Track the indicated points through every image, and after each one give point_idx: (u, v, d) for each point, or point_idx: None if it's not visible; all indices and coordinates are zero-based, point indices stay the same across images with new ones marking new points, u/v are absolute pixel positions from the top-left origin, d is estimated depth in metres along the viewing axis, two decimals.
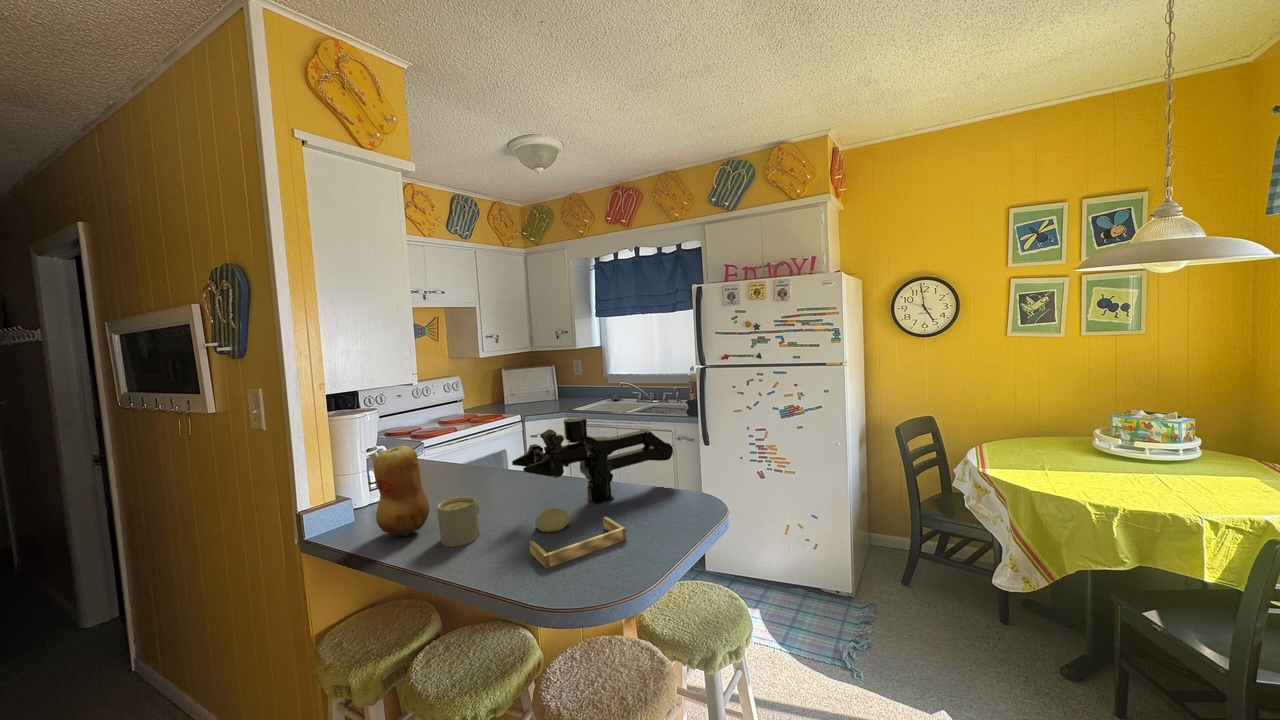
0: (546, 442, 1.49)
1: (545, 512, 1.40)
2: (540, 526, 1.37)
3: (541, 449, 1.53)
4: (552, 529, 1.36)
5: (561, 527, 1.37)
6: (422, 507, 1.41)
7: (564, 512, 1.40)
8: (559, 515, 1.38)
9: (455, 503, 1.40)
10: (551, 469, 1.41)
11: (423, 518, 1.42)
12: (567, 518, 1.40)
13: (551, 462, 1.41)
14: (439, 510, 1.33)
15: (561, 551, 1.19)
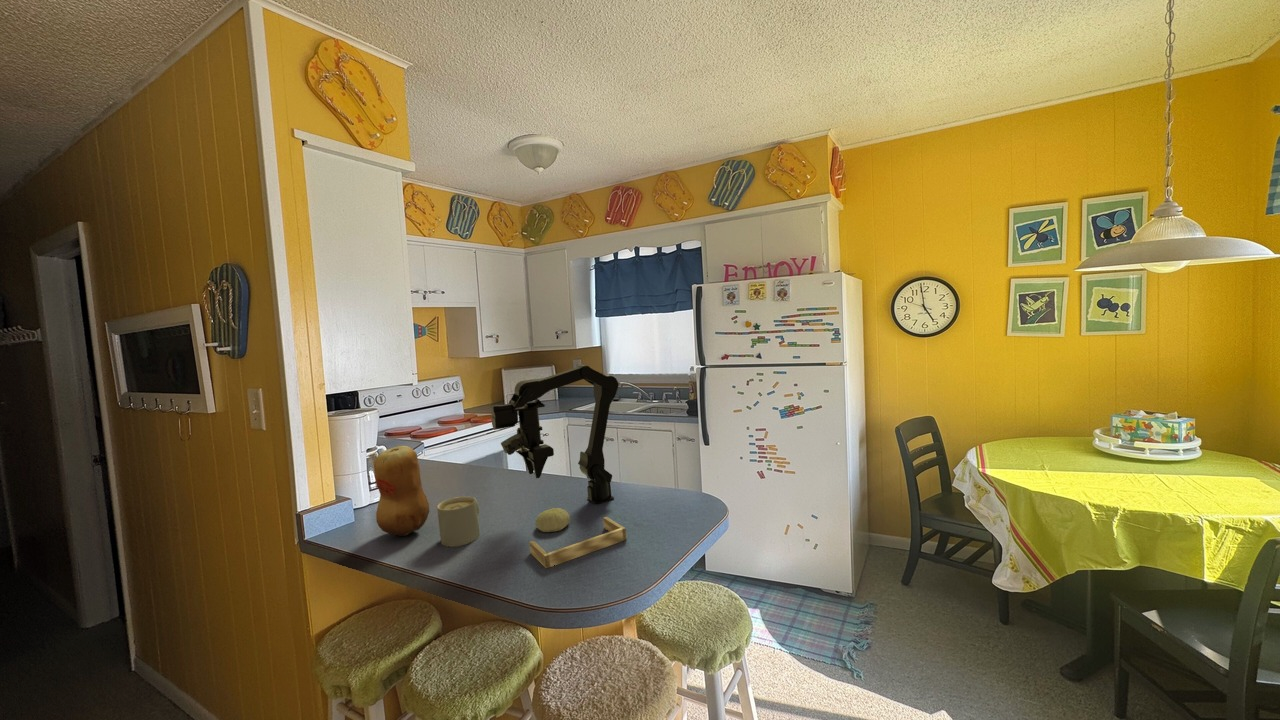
0: None
1: (545, 512, 1.40)
2: (540, 526, 1.37)
3: None
4: (552, 529, 1.36)
5: (561, 527, 1.37)
6: (422, 507, 1.41)
7: (564, 512, 1.40)
8: (559, 515, 1.38)
9: (455, 503, 1.40)
10: None
11: (423, 518, 1.42)
12: (567, 518, 1.40)
13: None
14: (439, 510, 1.33)
15: (561, 551, 1.19)
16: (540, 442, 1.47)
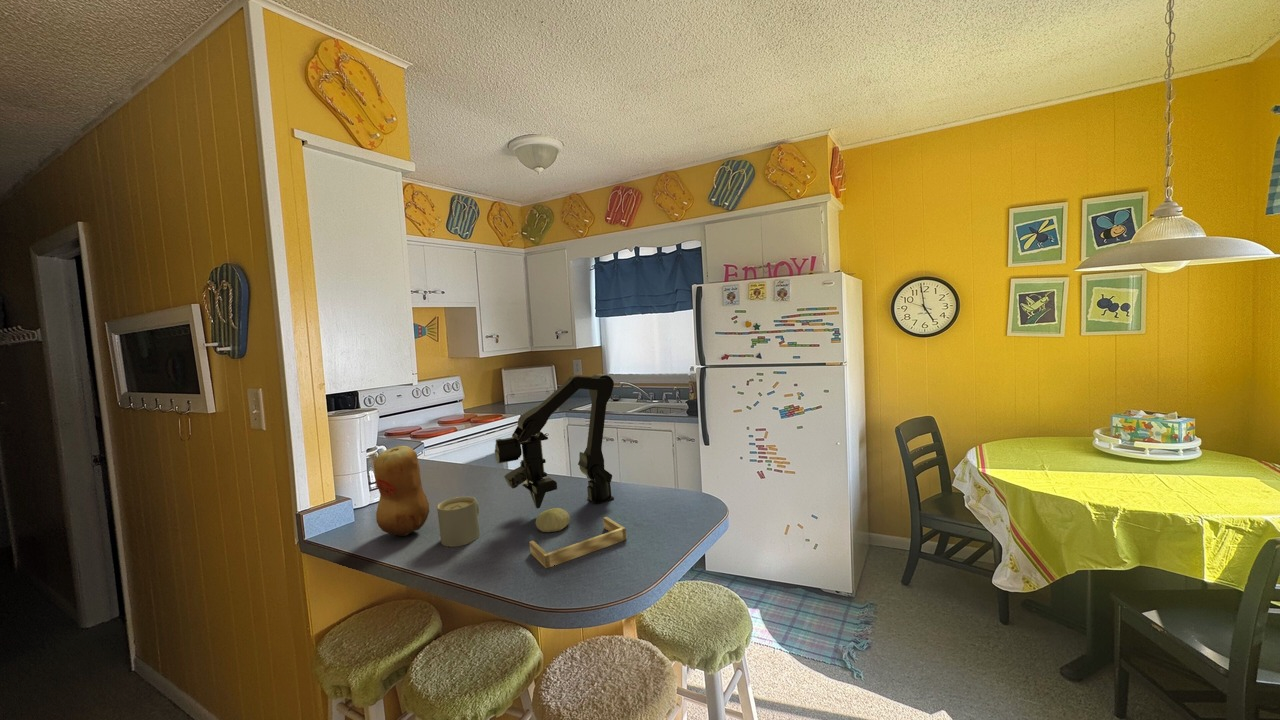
0: None
1: (545, 512, 1.40)
2: (540, 526, 1.37)
3: None
4: (552, 529, 1.36)
5: (561, 527, 1.37)
6: (422, 507, 1.41)
7: (564, 512, 1.40)
8: (559, 515, 1.38)
9: (455, 503, 1.40)
10: None
11: (423, 518, 1.42)
12: (567, 518, 1.40)
13: None
14: (439, 510, 1.33)
15: (561, 551, 1.19)
16: (543, 475, 1.48)
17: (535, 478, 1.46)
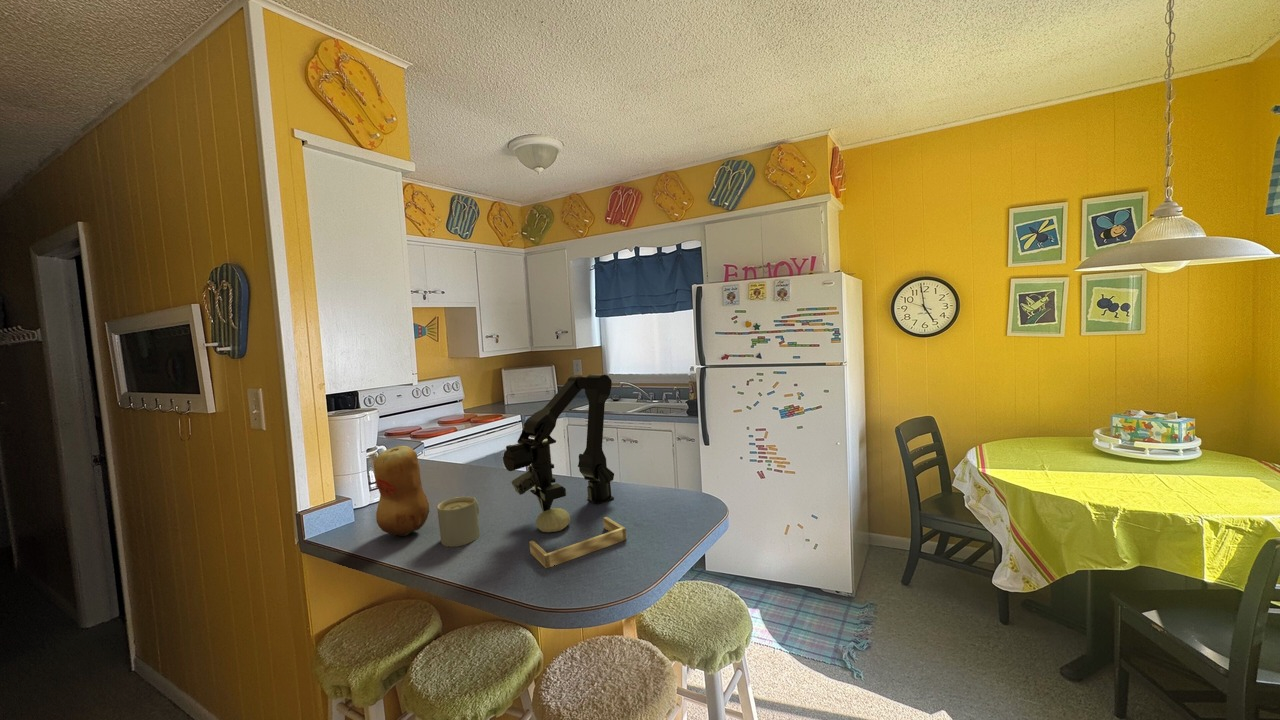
0: None
1: (545, 512, 1.39)
2: (541, 527, 1.36)
3: None
4: (553, 529, 1.36)
5: (562, 527, 1.37)
6: (422, 507, 1.41)
7: (564, 512, 1.40)
8: (559, 515, 1.38)
9: (455, 503, 1.40)
10: None
11: (423, 518, 1.42)
12: (567, 518, 1.39)
13: None
14: (439, 510, 1.33)
15: (561, 551, 1.19)
16: (552, 480, 1.42)
17: (543, 484, 1.41)
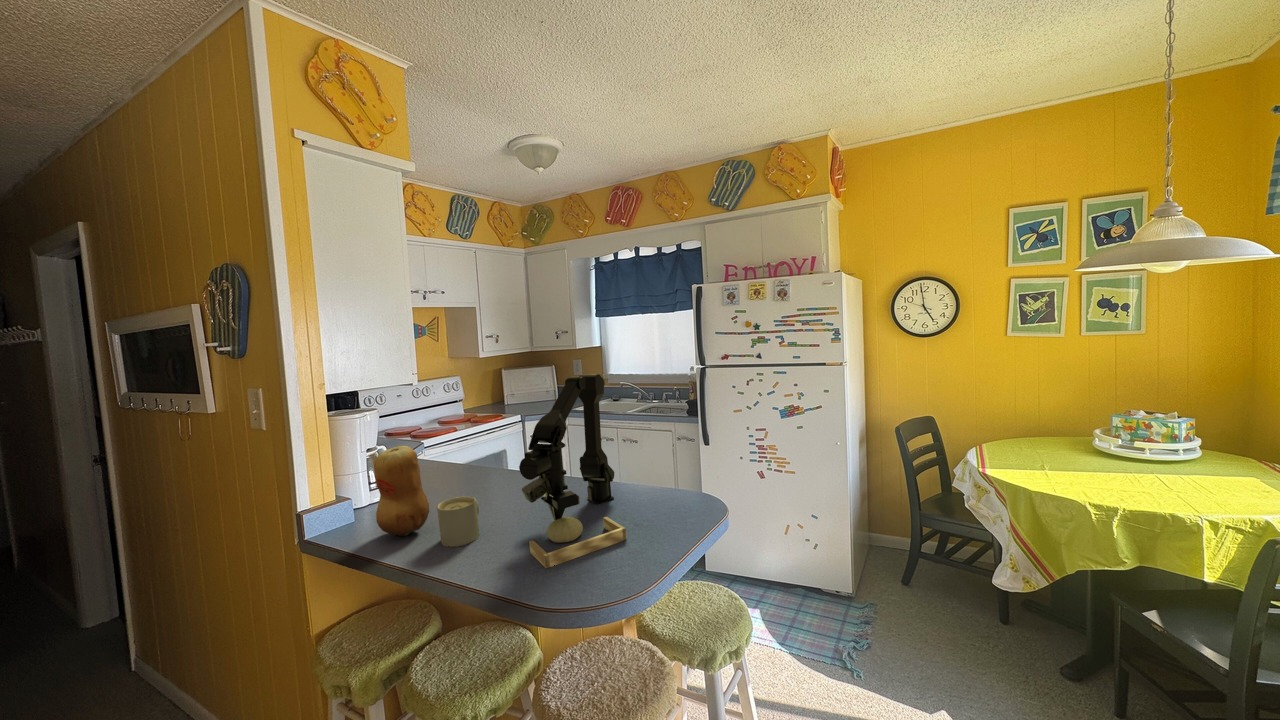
0: None
1: (557, 521, 1.32)
2: (551, 537, 1.29)
3: None
4: (564, 540, 1.29)
5: (573, 537, 1.30)
6: (422, 507, 1.41)
7: (577, 521, 1.33)
8: (571, 525, 1.31)
9: (455, 503, 1.40)
10: None
11: (423, 518, 1.42)
12: (580, 528, 1.32)
13: None
14: (439, 510, 1.33)
15: (561, 551, 1.19)
16: (564, 487, 1.36)
17: (555, 491, 1.34)
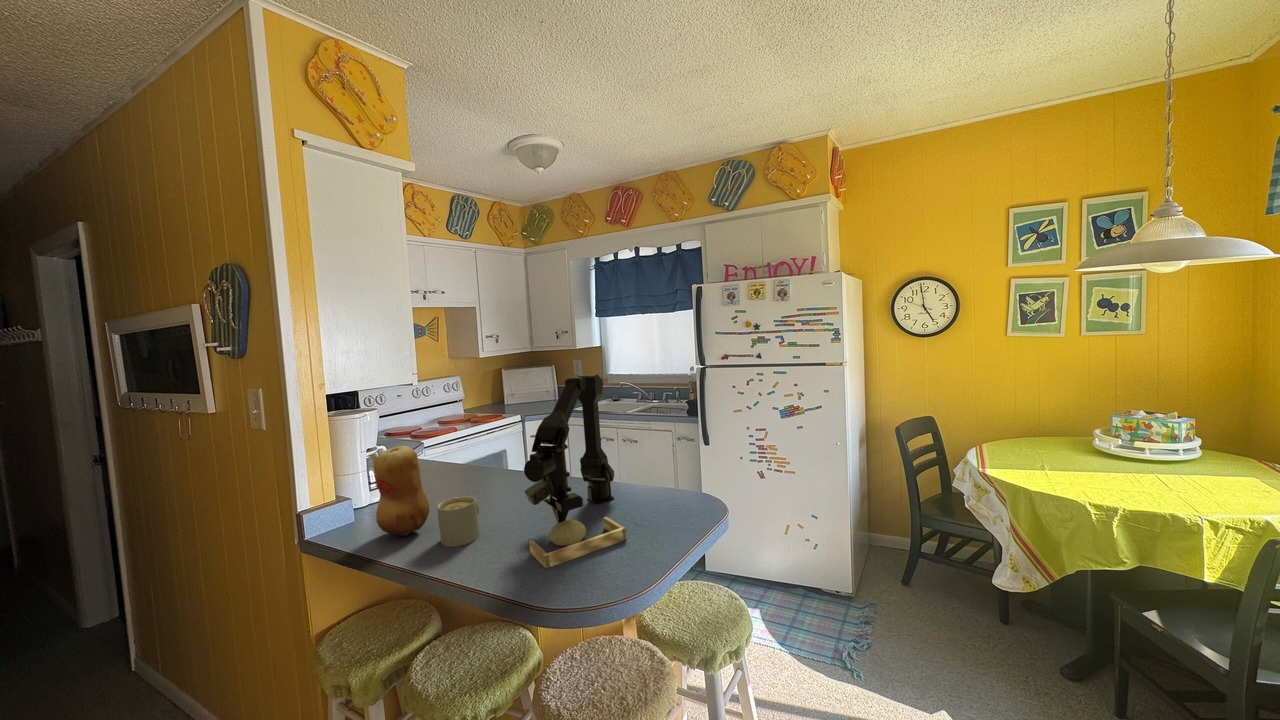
0: None
1: (560, 524, 1.31)
2: (554, 540, 1.28)
3: None
4: (567, 543, 1.27)
5: (576, 541, 1.28)
6: (422, 507, 1.41)
7: (580, 524, 1.31)
8: (574, 528, 1.29)
9: (455, 503, 1.40)
10: None
11: (423, 518, 1.42)
12: (583, 531, 1.30)
13: None
14: (439, 510, 1.33)
15: (561, 551, 1.19)
16: (567, 489, 1.34)
17: (558, 493, 1.32)
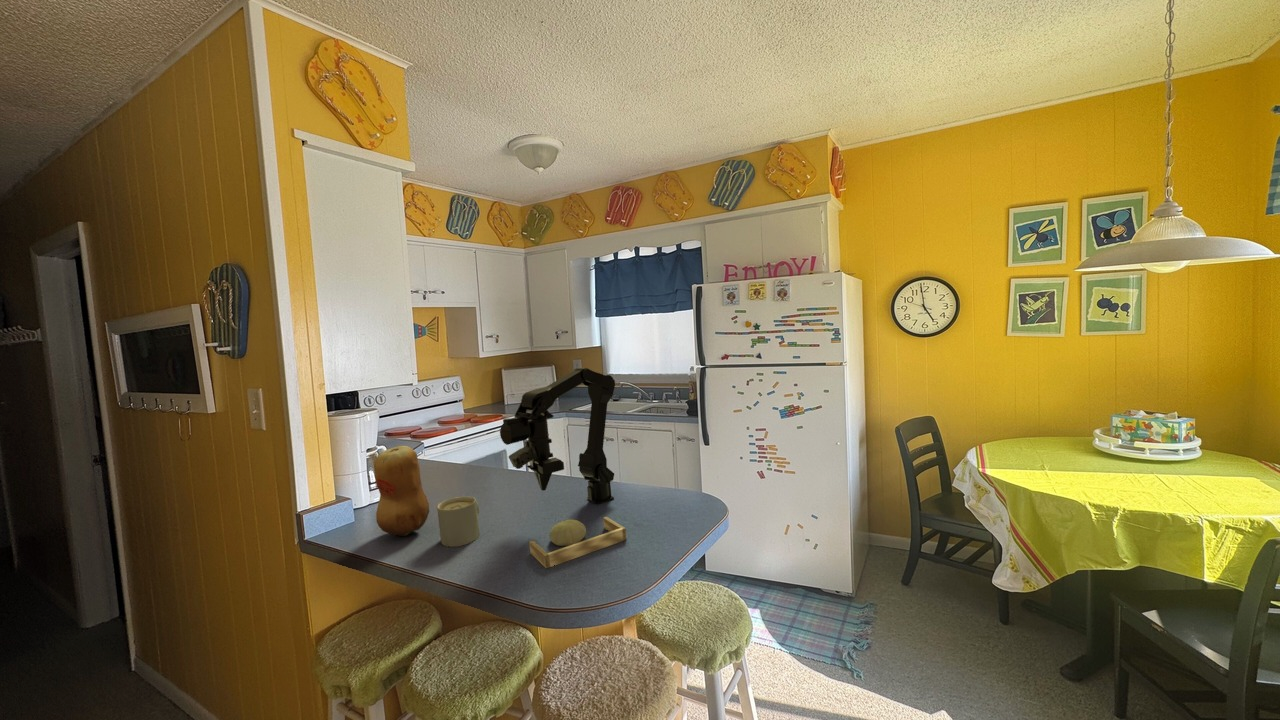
0: None
1: (560, 524, 1.31)
2: (554, 540, 1.28)
3: None
4: (567, 543, 1.27)
5: (576, 541, 1.28)
6: (422, 507, 1.41)
7: (580, 524, 1.31)
8: (574, 528, 1.29)
9: (455, 503, 1.40)
10: None
11: (423, 518, 1.42)
12: (583, 531, 1.30)
13: None
14: (439, 510, 1.33)
15: (561, 551, 1.19)
16: (549, 455, 1.41)
17: (541, 458, 1.40)
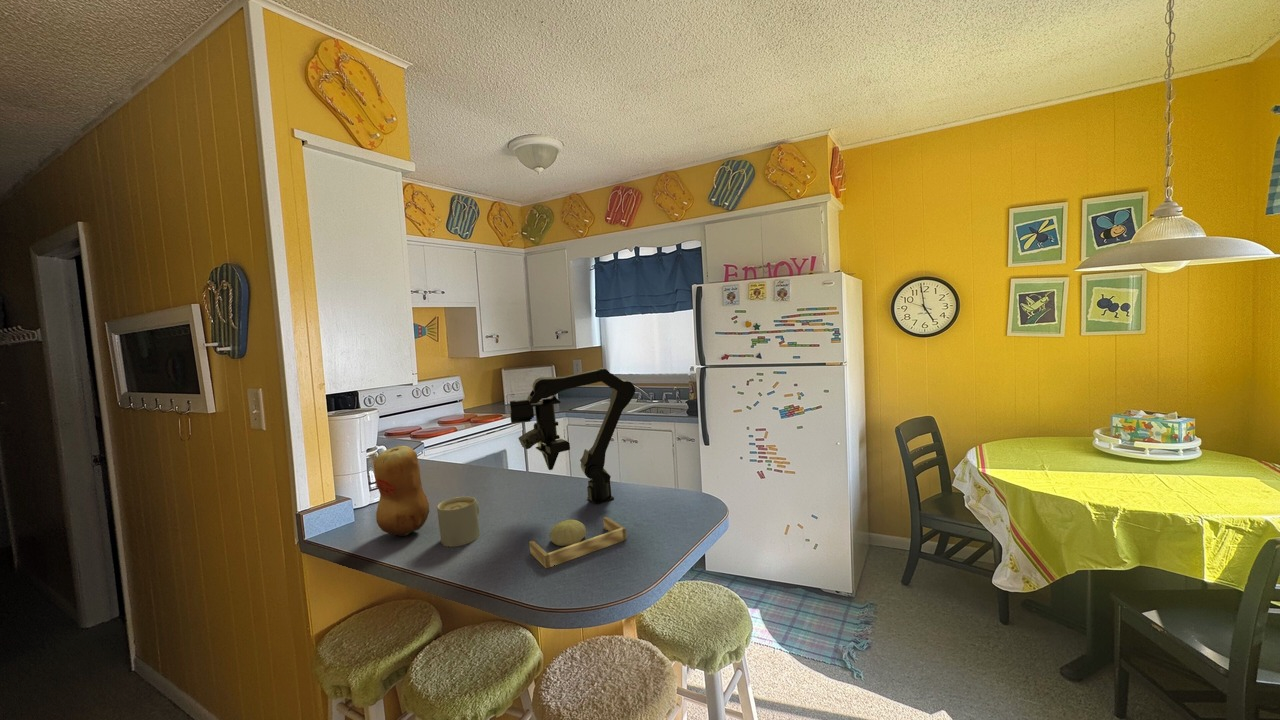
0: None
1: (560, 524, 1.31)
2: (554, 540, 1.28)
3: None
4: (567, 543, 1.27)
5: (576, 541, 1.28)
6: (422, 507, 1.41)
7: (580, 524, 1.31)
8: (574, 528, 1.29)
9: (455, 503, 1.40)
10: None
11: (423, 518, 1.42)
12: (583, 531, 1.30)
13: None
14: (439, 510, 1.33)
15: (561, 551, 1.19)
16: (556, 437, 1.52)
17: (548, 440, 1.50)
